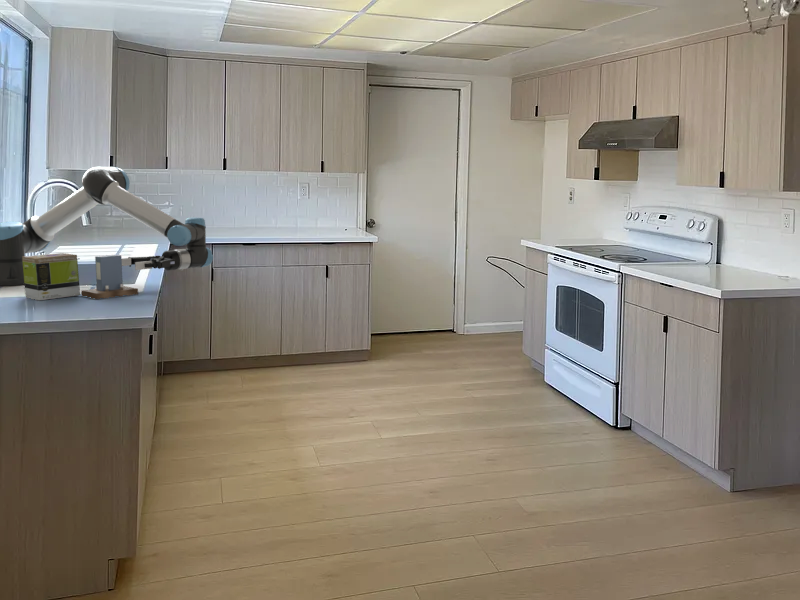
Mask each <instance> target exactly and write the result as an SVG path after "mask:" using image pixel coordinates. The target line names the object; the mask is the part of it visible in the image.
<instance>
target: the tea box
mask: <svg viewBox="0 0 800 600" xmlns="http://www.w3.org/2000/svg"><path fill="white" fill-rule="evenodd" d="M22 261H23V272H24V284H23V285H24V294H25V298H26V299H29V298H31V299H30V300H34V299H35V300H34V301H44V300H53V299H60V298H61V299H62V298H67V297H77V296H81V290H80V275H79V265H78V264H79V263H78V255H77V254H73V253H64V252H58V253H48V254H37V255H36V254H35V255H27V256H26V255H25V256H24V257H22Z"/></svg>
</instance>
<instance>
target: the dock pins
mask: <svg viewBox="0 0 800 600" xmlns="http://www.w3.org/2000/svg"><path fill="white" fill-rule="evenodd" d="M123 286H124V283H123V284H120V290H123ZM95 289H96V290H97V283H96V284H95ZM105 291H106V292H108V291H109V285H106V286H105Z"/></svg>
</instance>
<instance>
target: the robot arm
mask: <svg viewBox="0 0 800 600" xmlns="http://www.w3.org/2000/svg"><path fill="white" fill-rule="evenodd" d="M81 180H82V187H81V188H79V189H78V190H77V191H75V192H73V193H72V194H71V195H69V196H68V197H66V198H64V199H63V200H62V201H60V202H59V203H57V204H55V205H54V206H52V207H51V208H50V209H49V210H47V211H46V212H44V213H43V214H41V215H40V216H39V215H33V216H31V217H30V218H28V219H27V220H26V221H24V222H23V223H22V222H20V221H4V222H0V287H3V286H4V287H5V286H7V287H8V286H9V287H11V286H20V285H21V286H22V285H24V272H23V261H22V257H24V256H26V255H25V254H30V253H37V252H41V251H43V250H45V249H46V248H48V247H49V245H50V244H51V242H52V241H53V240H55V234H57V233H58V232H60V231H61V230H62V229H64V228H66V227H67V226H68V225H70V224H71V223H73V222H74V221H76V220H77V219H79V218H81V217H82V216H83V215H85V214H86V213H88V212H89V211H90V210H91V209H93V208H95V207H96V206H97V205H101V206H105V205H108V204H109V205H111V206H113V207H114V208H116V209H118V210H119V211H121V212H122V213H124V214H126V215H128V216H129V217H131V218H133V219H135V220H136V221H138V222H139V223H141V224H143V225H145V226H146V227H148V228H150V229H151V230H153V231H155V232H157V233H159V234H160V235H162V236H164V237H166V238H167V239H168V241H169V243H170V244H171V245H173V246H177V247H182V246H186V247H185V248H182V249H172V250H165V251H163V253H162V254H161V255H155V256H154V255H152V256H151V255H150V256H132V257H131V256H128V257H125V258H122V267H126V266H128V267H132V265H134V268H135V269H134V270H135V271H140V270H141V271H142V270H149V269H158V270H161V269H165V270H166V271H176V270H180V271H184V270H185V269H196V268H204V267H208V266H210V265H211V264H212V263H213V260H214V255H213V252H212V250H211V249H210V248H209V247H207V242H206V240H207V239H206V237H207V236H206V235H207V234H206V220H205V218H204V217H187V218H185V221H184V223H182V222H181V221H179V220H177V219H176V218H174V217H172V216H171V215H169V214H167V213H165V212H164V211H162V210H161V209H159V208H157V207H155V206H154V205H152V204H150V203H148V202H147V201H145V200H144V199H142V198H140V197H138V196H137V195H135V194H133V193H131V192H130V191H129V189H130V179H129V176H128V174H127V173H126V171H124V169H121V168H119V167H116V166H94V167H91V168H89V169H88V170H86V171H85V173H84V174H83V176H82V179H81Z"/></svg>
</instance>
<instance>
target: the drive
mask: <svg viewBox="0 0 800 600" xmlns="http://www.w3.org/2000/svg"><path fill="white" fill-rule="evenodd" d="M122 259H123V258H122V255H120V254H109V255H107V254H106V255H97V256H94V260H95V279H96V284H97V290H98V291H105V286H106V285H109V290H117V289H120V284H123V285H124V283H123V282H124V281H123V266H122Z"/></svg>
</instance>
